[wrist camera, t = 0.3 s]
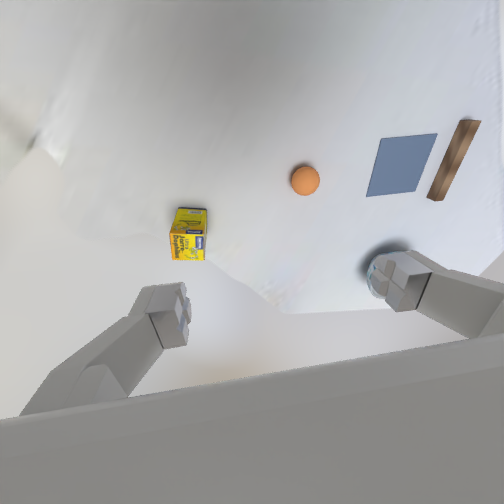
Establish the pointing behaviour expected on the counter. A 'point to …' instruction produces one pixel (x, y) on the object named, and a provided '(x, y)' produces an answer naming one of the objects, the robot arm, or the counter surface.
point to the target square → (400, 164)
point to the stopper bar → (453, 158)
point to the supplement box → (189, 234)
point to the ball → (305, 181)
